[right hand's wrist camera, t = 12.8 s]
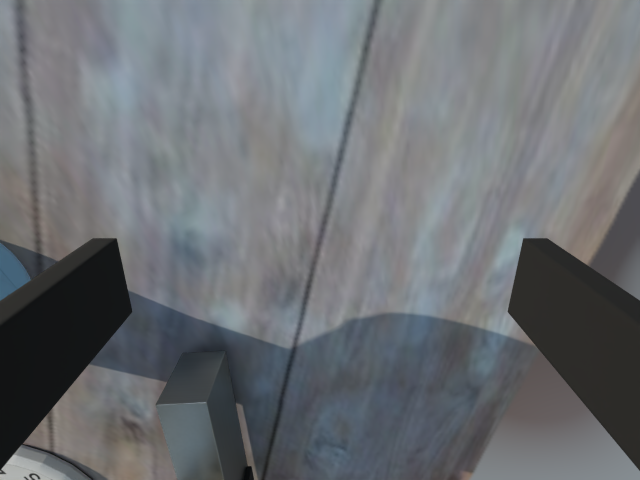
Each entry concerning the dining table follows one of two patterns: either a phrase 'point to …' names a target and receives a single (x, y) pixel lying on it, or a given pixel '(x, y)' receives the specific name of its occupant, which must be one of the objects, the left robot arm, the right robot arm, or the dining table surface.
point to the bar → (202, 419)
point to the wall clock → (39, 467)
